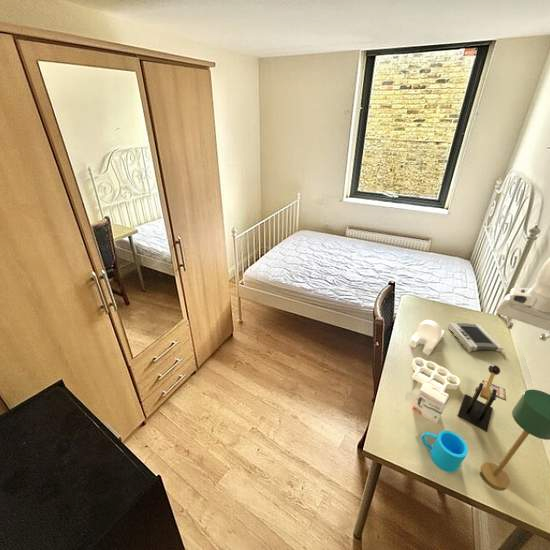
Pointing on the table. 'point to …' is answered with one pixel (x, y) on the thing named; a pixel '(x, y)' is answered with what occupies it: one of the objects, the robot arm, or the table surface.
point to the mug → (447, 450)
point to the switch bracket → (477, 409)
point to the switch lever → (490, 381)
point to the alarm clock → (474, 337)
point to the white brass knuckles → (433, 374)
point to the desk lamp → (533, 420)
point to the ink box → (430, 402)
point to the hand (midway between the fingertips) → (525, 333)
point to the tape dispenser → (427, 336)
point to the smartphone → (500, 391)
